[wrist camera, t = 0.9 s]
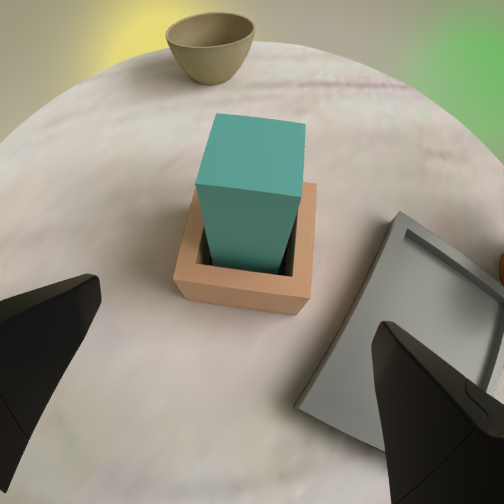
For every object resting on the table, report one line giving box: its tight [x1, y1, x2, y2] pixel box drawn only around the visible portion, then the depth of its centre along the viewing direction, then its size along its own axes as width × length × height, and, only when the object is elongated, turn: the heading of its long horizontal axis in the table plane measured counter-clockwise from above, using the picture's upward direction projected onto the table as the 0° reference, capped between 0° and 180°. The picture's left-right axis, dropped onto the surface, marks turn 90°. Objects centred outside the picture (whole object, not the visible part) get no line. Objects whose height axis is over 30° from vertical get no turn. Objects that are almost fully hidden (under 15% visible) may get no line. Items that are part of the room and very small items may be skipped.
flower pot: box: [166, 12, 255, 85], centre depth 31 cm, size 10×10×7 cm
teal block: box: [195, 114, 306, 275], centre depth 19 cm, size 4×4×12 cm
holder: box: [173, 182, 316, 315], centre depth 23 cm, size 8×8×5 cm
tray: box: [294, 211, 504, 452], centre depth 21 cm, size 18×16×2 cm
